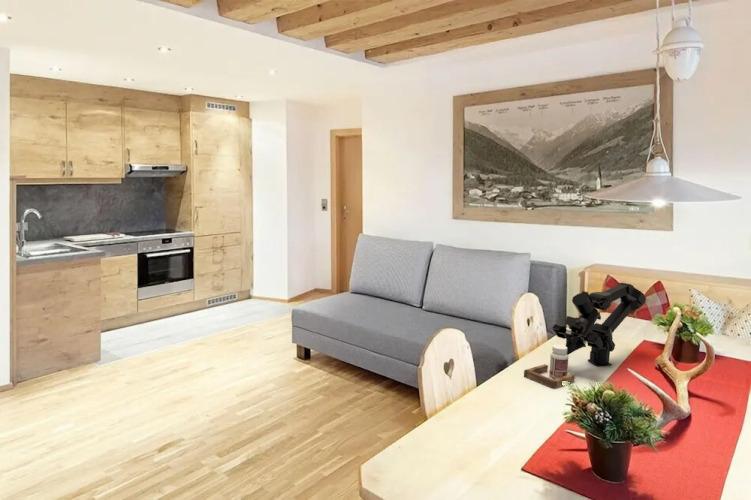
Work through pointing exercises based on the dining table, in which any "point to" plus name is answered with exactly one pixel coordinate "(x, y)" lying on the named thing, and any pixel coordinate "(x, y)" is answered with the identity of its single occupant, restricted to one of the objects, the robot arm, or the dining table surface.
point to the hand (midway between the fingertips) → (565, 354)
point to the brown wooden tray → (535, 376)
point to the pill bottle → (558, 361)
